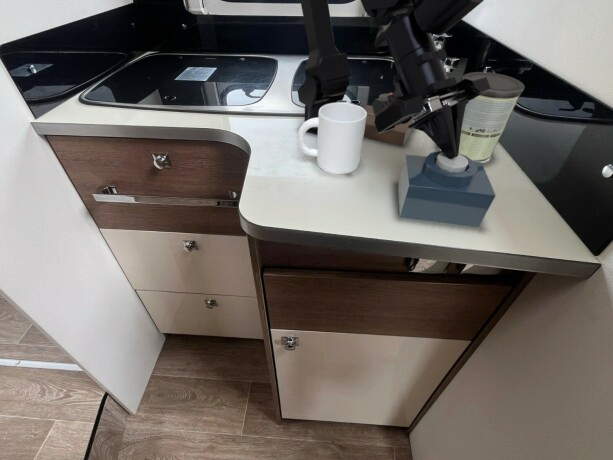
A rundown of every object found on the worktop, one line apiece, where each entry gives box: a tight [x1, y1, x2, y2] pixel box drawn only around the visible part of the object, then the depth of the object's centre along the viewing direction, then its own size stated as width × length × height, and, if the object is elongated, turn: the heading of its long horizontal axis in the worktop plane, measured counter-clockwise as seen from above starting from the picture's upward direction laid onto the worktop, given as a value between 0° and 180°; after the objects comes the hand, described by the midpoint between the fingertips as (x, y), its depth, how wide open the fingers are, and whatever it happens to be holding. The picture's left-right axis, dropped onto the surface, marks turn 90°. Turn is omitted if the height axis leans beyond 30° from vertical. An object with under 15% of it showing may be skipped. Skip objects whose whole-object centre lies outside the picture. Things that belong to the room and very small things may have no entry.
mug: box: [296, 102, 367, 175], centre depth 58 cm, size 12×8×10 cm
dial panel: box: [362, 104, 414, 147], centre depth 71 cm, size 12×10×3 cm
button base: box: [397, 150, 496, 228], centre depth 50 cm, size 12×9×8 cm
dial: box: [378, 92, 394, 98], centre depth 68 cm, size 4×4×5 cm
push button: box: [435, 153, 468, 173], centre depth 48 cm, size 4×4×2 cm
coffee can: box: [438, 71, 525, 165], centre depth 61 cm, size 10×10×14 cm
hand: (453, 157), depth 47 cm, fingers closed, pressing on push button
